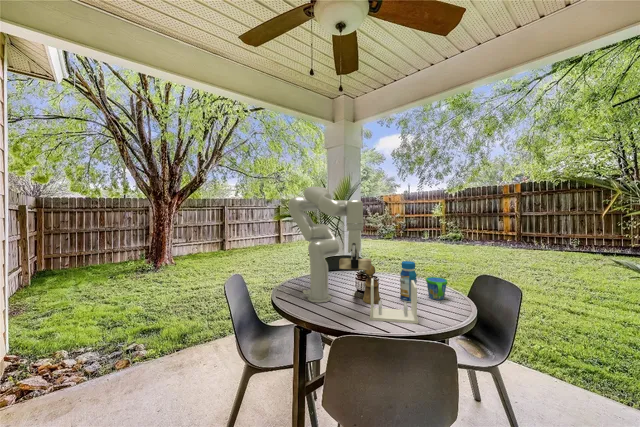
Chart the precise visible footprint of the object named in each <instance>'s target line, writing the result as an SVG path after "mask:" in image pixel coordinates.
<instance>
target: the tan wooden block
mask: <svg viewBox="0 0 640 427" xmlns="http://www.w3.org/2000/svg"><path fill="white" fill-rule="evenodd" d="M338 261H339V264H338V266H339V268H338V269H339V270H352V269H351V257H350V258H349V257H348V258H347V257H342V258H341V257H340V259H339V260H338ZM371 265H372V258H359V259H358V269H357V270H360V271H361V270H362V271H364V270H371Z"/></svg>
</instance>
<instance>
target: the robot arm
mask: <svg viewBox="0 0 640 427" xmlns="http://www.w3.org/2000/svg"><path fill="white" fill-rule="evenodd" d="M317 210H320V212H322V213H323V214H325V215H327V216H330V217H346V231H347V232H348V234H347V236H348V239H347V240H348V241H347V253H348V254H351V255H350V256H351V257H350V258H351V269H350V270H359V269H358V259H360V251H361V246H362V245H361V244H362V243H361V242H362V241H361V240H362V239H361V238H362V236H361V234H362V233H361V232H362V231H363V232H364V203H363V201H362V200H359V199H353V200H352V199H350V200H345V199H344V200H342V199H337V200H336V199H333V198H332V195H331V193H330V191H329V190H328V189H327V188H326V187H322V186H308V187H306V189H305V190H304V191H303V196H294V197H292V198H290V199H289V201H288V211H289V215H290V216H291V218H292V220H293V221H294V223H295V224H296V226H297V227H298V228H299V230H300V233H301V234H302V237H303V238H304V240H305V241H306V242H309V244H308V248H307V250H308V255H309V262H310V263H309V266H310V267H309V268H310V277H309V278H310V279H309V280H310V284H309V285H310V286H309V288H310V289H309V290H306V289H305V290H304V289H303V291H302V294H303V295H305V296H307V301H309V302H311V303H316V304H319V303H321V304H322V303H327V302H330V301H331V300H332V296H331V295H330V294H329V264H328V262H327V260H326V258H328V257H334V256H336V255H338V254H339V252H340V244H339V242H338V240H337V238H336V236H335V234H334V233H333V232H332V230H331V228H330V227H329V226H328V225H327V224H324V223H315V222H313V219H312V218H311V216H310V215H308V214H307V213H306V212H314V211H317Z"/></svg>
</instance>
